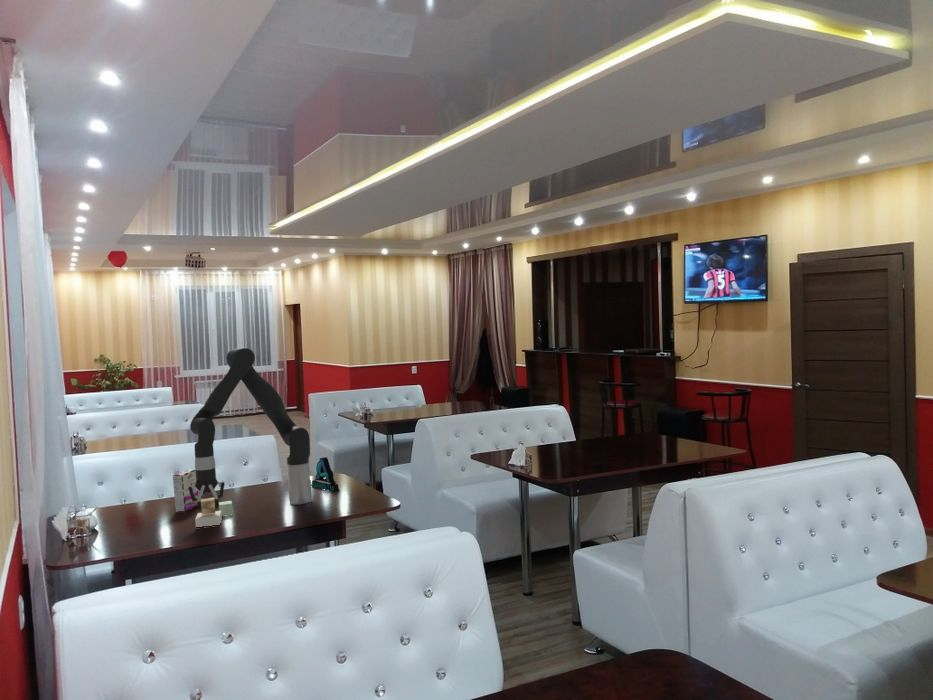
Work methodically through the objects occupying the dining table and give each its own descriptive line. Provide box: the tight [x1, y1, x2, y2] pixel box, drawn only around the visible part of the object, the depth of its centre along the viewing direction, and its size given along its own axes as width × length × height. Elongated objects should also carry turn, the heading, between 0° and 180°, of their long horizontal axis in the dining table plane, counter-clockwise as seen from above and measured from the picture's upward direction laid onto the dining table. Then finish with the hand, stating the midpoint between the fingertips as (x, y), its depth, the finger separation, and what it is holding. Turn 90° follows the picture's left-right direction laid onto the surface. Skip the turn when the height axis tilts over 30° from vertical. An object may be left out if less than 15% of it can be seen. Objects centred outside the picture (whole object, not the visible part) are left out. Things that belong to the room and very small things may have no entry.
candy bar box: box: [172, 468, 199, 513], centre depth 306 cm, size 11×5×16 cm, turn 168°
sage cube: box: [218, 500, 234, 517], centre depth 294 cm, size 5×5×5 cm
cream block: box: [194, 510, 223, 528], centre depth 281 cm, size 9×9×4 cm
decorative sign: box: [311, 456, 340, 493], centre depth 330 cm, size 19×2×15 cm, turn 46°
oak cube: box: [200, 497, 216, 515], centre depth 281 cm, size 5×5×5 cm
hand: (208, 509), depth 281 cm, fingers open, 5 cm apart
